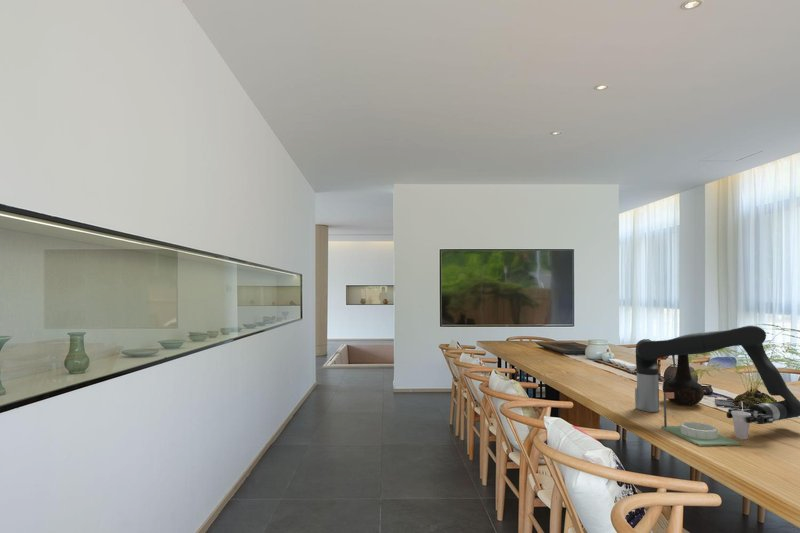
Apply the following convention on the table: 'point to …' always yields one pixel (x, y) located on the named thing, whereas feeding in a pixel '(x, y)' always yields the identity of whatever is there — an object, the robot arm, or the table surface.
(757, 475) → the table surface
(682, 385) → the glass bottle
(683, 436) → the practice green
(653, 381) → the robot arm
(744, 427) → the smoothie
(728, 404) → the picture frame
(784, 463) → the table surface
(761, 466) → the table surface
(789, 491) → the table surface
